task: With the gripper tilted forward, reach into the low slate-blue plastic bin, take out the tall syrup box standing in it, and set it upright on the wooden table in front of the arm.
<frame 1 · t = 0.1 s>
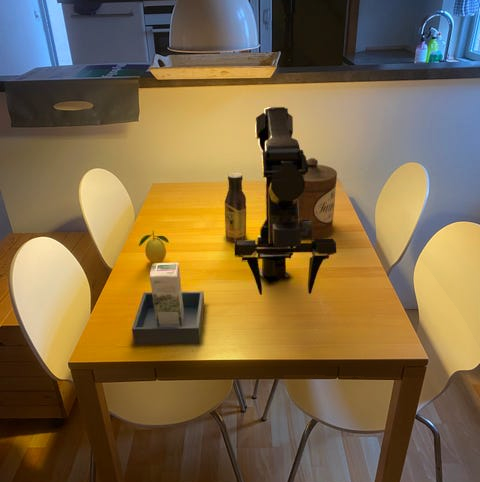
hand: (285, 294, 89), 15 cm above the table, tool tilted 35°, fingers open, 9 cm apart
syrup box: (171, 324, 106), resting on bin
lemon: (157, 264, 130), on the table
wooden container: (307, 229, 146), on the table
sauce bottle: (236, 238, 142), on the table
bin: (171, 324, 106), on the table
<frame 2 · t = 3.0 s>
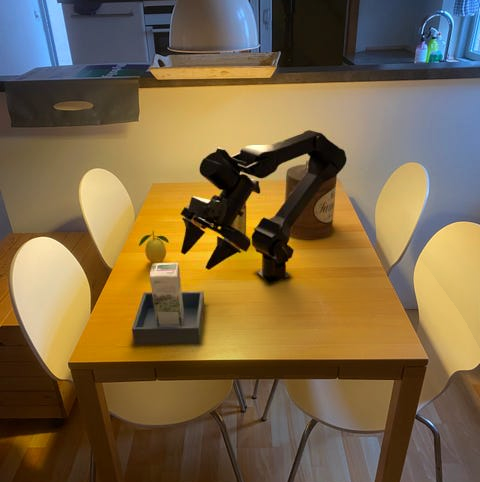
hand: (194, 261, 103), 14 cm above the table, tool tilted 45°, fingers open, 9 cm apart
nothing on the table moved.
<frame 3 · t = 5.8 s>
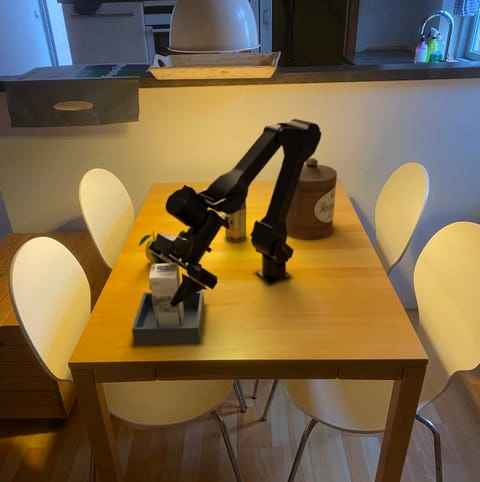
hand: (161, 297, 101), 8 cm above the table, tool tilted 45°, fingers closed on syrup box, 8 cm apart
syrup box: (171, 323, 106), resting on bin, touching gripper
everything else where it was.
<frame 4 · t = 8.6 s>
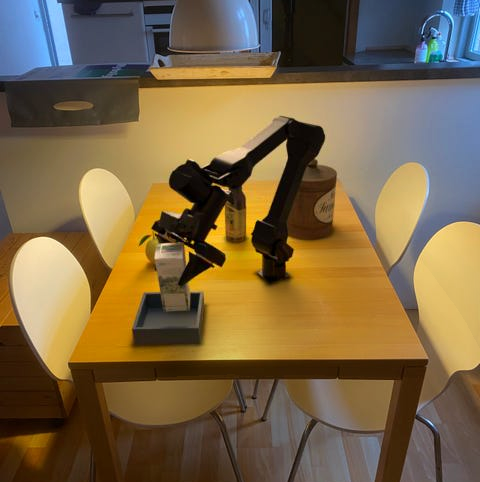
hand: (167, 278, 98), 13 cm above the table, tool tilted 45°, fingers closed on syrup box, 8 cm apart
syrup box: (177, 304, 104), point 5 cm above the table, touching gripper
everything else where it was.
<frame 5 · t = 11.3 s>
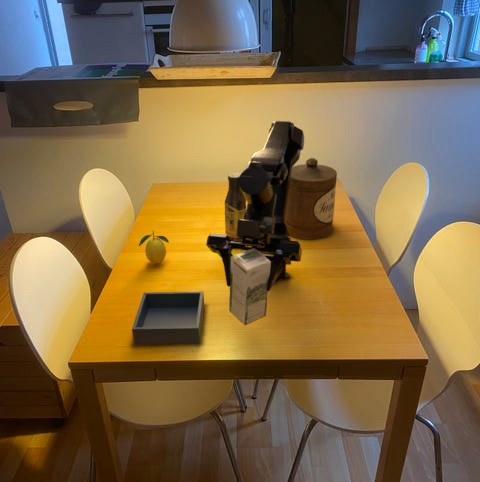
hand: (247, 288, 94), 13 cm above the table, tool tilted 45°, fingers closed on syrup box, 8 cm apart
syrup box: (247, 315, 100), point 5 cm above the table, touching gripper
everything else where it was.
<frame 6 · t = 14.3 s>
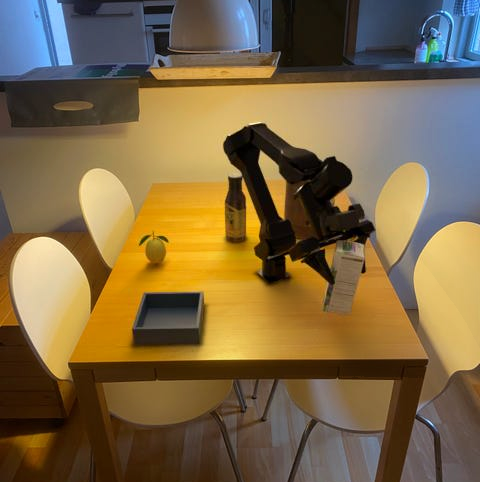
hand: (348, 278, 96), 13 cm above the table, tool tilted 45°, fingers closed on syrup box, 8 cm apart
syrup box: (336, 307, 102), point 5 cm above the table, touching gripper
everything else where it was.
when the fingers open (8 cm above the table, at t = 17.0 s): syrup box stays where it is, on the table.
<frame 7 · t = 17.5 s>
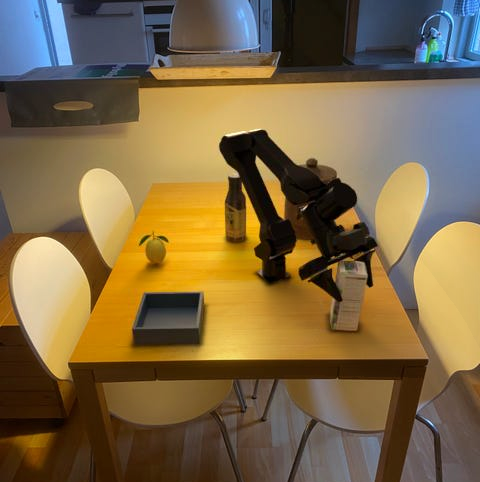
hand: (356, 294, 99), 9 cm above the table, tool tilted 45°, fingers open, 9 cm apart
syrup box: (343, 323, 105), on the table, touching gripper
everything else where it was.
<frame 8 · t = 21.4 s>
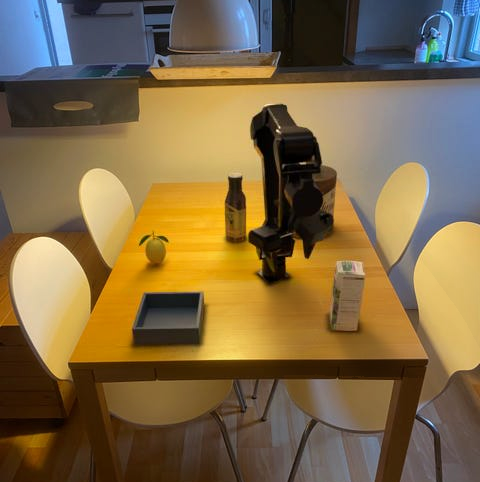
hand: (290, 264, 102), 13 cm above the table, tool pointing down, fingers open, 9 cm apart
syrup box: (343, 324, 105), on the table
everything else where it was.
at the end: syrup box inside the target area (0.9 cm from its centre), on the table; syrup box tilted 0°; the gripper is holding nothing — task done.
